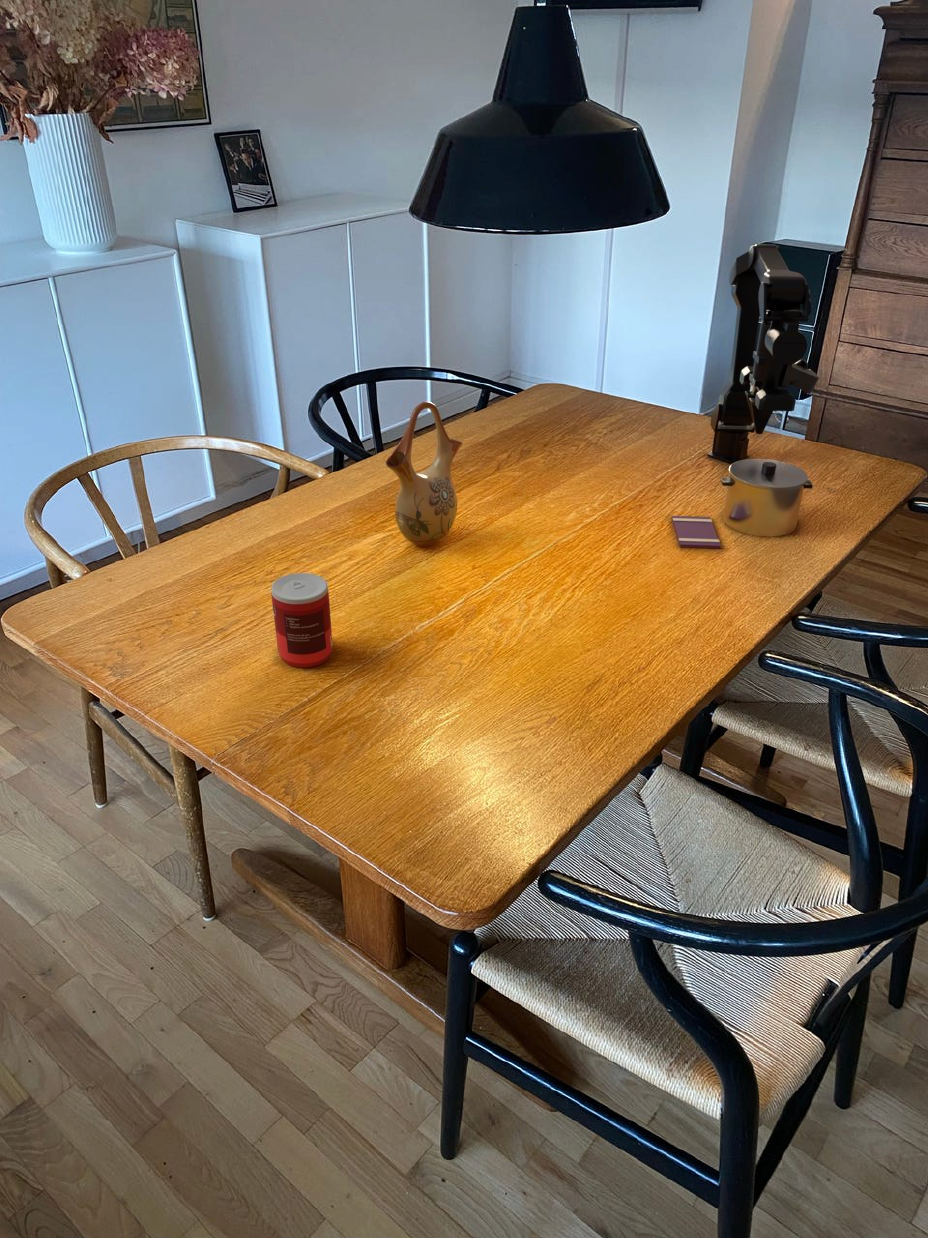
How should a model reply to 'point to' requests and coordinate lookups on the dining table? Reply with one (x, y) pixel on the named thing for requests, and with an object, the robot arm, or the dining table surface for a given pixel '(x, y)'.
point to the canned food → (302, 619)
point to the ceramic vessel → (425, 486)
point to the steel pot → (764, 496)
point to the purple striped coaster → (695, 532)
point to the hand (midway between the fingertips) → (758, 433)
